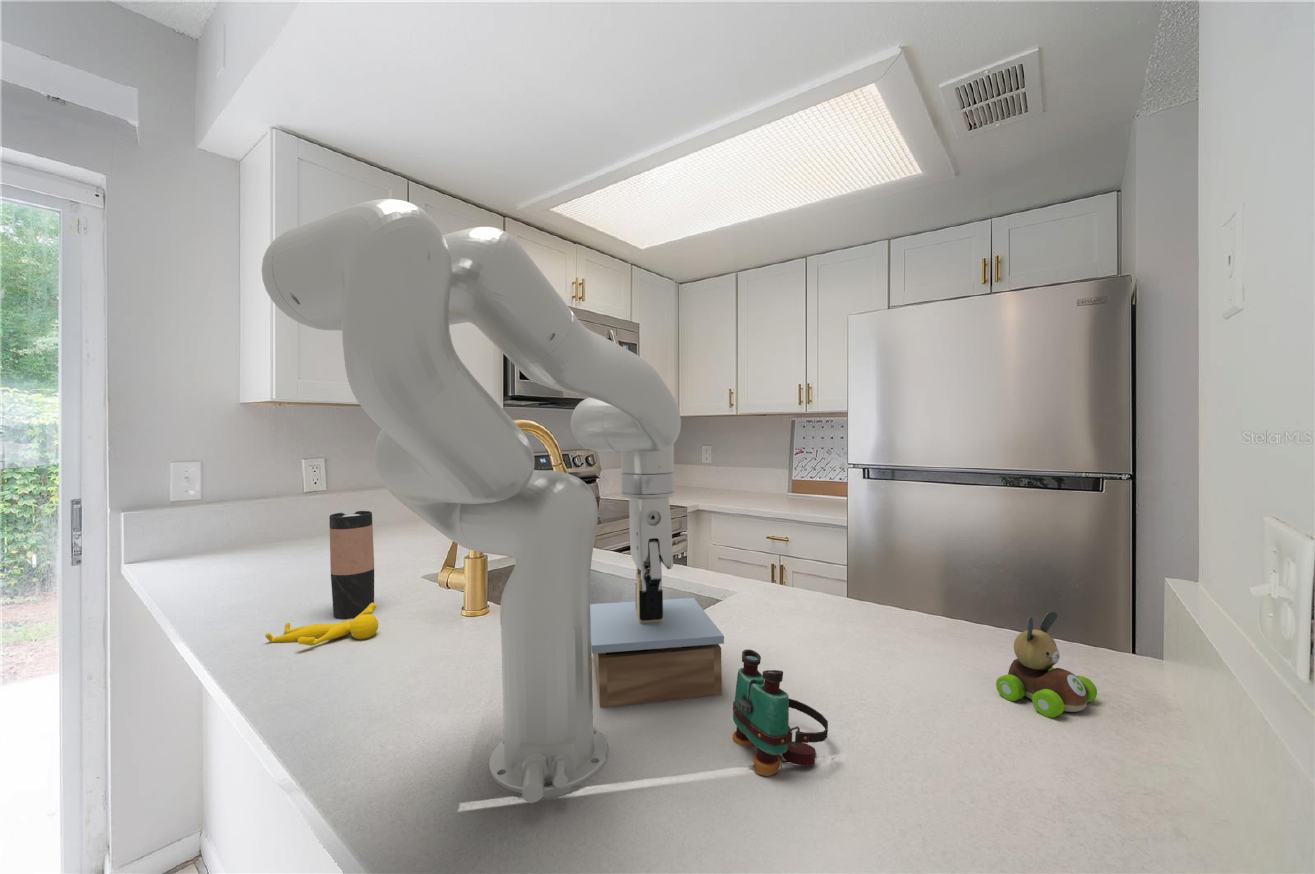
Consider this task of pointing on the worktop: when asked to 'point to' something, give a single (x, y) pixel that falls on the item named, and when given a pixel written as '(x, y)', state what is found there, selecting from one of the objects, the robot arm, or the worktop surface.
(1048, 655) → the toy car
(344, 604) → the travel mug
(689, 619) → the lid
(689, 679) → the box
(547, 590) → the robot arm
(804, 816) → the worktop surface
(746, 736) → the binoculars
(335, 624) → the figurine
